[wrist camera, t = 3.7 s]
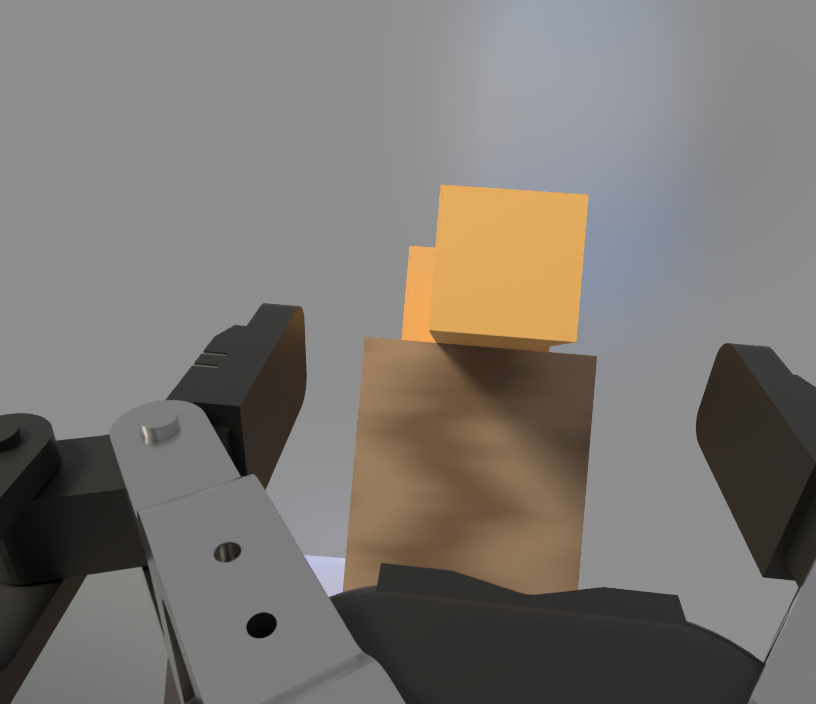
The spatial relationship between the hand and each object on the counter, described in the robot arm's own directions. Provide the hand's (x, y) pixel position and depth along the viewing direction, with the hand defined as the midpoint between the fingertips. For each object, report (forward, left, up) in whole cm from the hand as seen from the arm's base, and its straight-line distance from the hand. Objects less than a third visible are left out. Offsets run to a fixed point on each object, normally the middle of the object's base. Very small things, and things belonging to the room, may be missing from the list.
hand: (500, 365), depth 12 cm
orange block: (0, +10, +1) cm, 10 cm away
